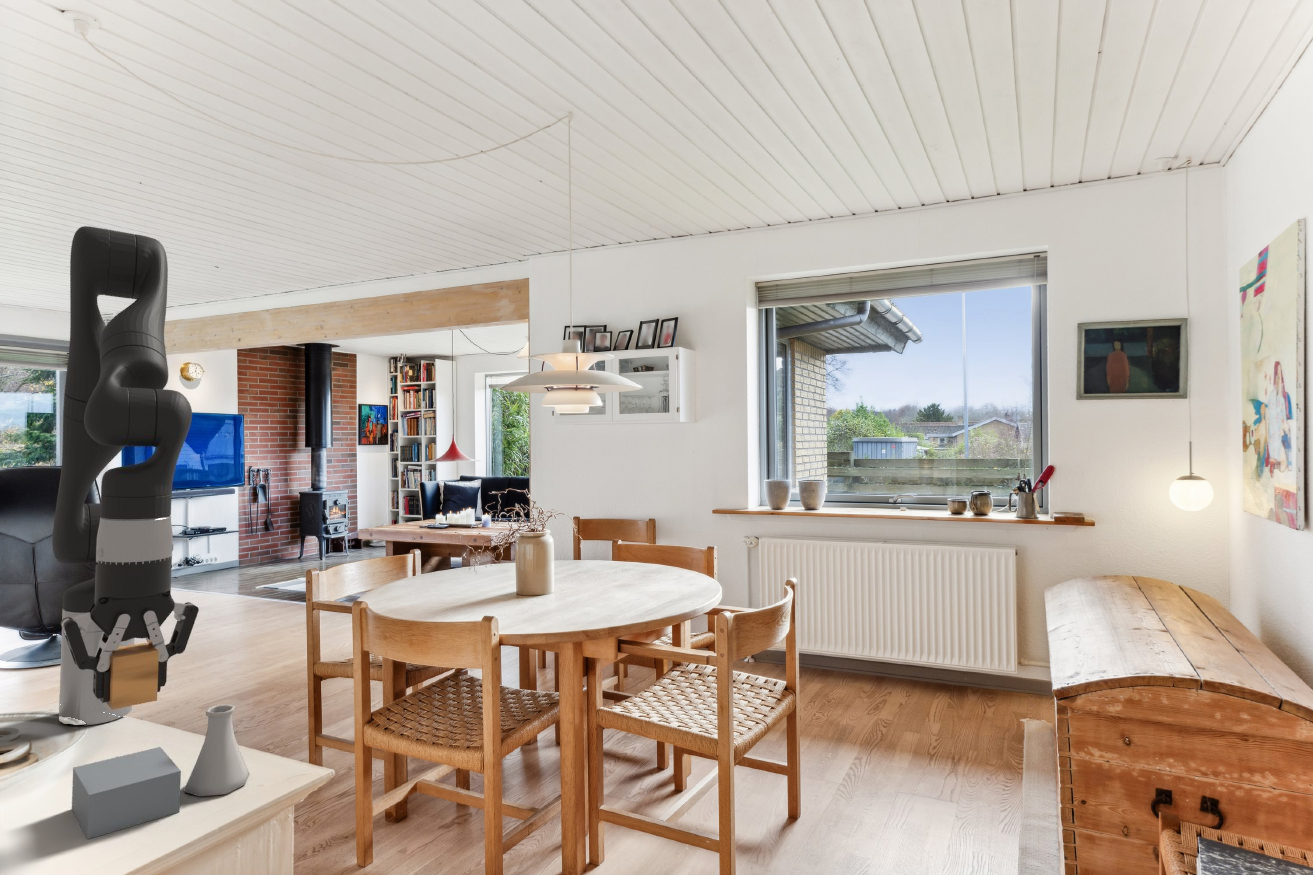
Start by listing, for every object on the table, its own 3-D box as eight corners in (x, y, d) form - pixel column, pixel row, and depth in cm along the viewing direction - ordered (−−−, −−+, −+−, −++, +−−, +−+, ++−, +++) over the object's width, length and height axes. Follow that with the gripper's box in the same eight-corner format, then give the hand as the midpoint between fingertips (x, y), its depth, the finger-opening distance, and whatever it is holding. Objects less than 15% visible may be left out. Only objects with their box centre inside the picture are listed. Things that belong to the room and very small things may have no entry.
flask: (228, 799, 95) (232, 720, 94) (171, 796, 95) (174, 717, 95) (260, 773, 102) (263, 699, 102) (207, 770, 102) (210, 697, 102)
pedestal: (71, 808, 91) (73, 767, 91) (158, 785, 97) (160, 746, 97) (87, 839, 85) (88, 794, 85) (179, 811, 91) (180, 770, 91)
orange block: (103, 698, 91) (104, 649, 91) (147, 690, 94) (148, 642, 94) (111, 709, 88) (113, 657, 88) (157, 700, 91) (158, 650, 91)
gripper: (192, 544, 98) (188, 675, 99) (54, 554, 88) (49, 700, 88) (211, 553, 93) (206, 690, 93) (66, 564, 83) (61, 719, 83)
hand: (129, 694), depth 91 cm, fingers closed on orange block, 4 cm apart
